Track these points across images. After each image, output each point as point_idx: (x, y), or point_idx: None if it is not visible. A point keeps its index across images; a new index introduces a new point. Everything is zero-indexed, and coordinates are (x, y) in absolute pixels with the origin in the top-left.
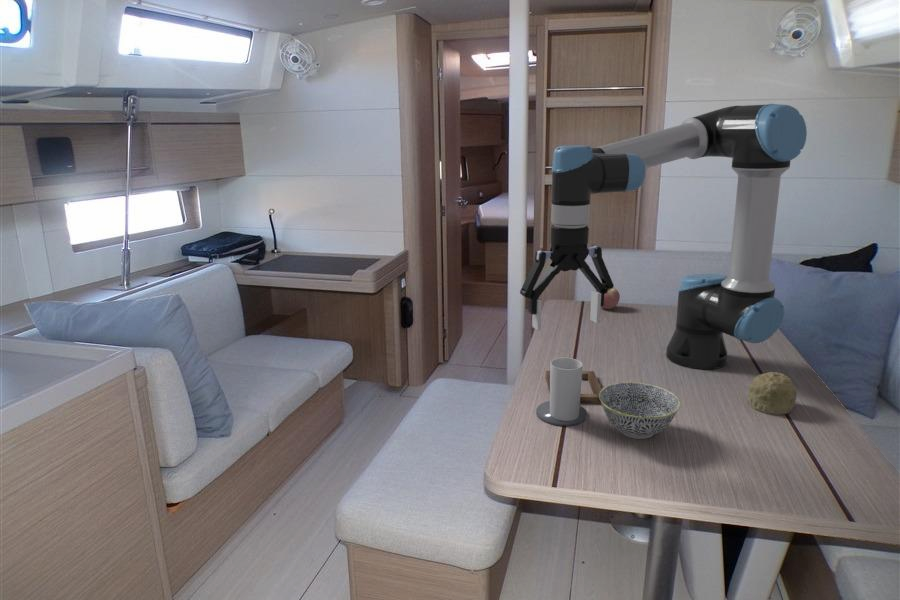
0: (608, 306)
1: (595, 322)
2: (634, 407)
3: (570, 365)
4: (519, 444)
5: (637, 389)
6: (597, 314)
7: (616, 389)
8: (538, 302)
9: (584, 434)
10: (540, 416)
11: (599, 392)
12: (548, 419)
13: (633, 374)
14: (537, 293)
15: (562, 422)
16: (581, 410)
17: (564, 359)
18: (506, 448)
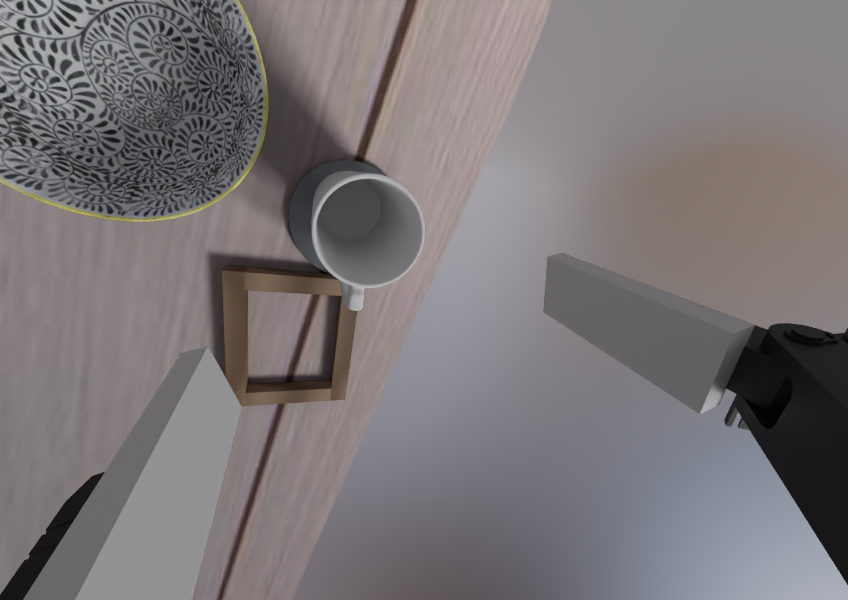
0: None
1: (213, 358)
2: (132, 168)
3: (341, 269)
4: (473, 97)
5: (90, 193)
6: (181, 387)
7: (183, 198)
8: (729, 318)
9: (318, 107)
10: None
11: (233, 297)
12: None
13: (105, 417)
14: (844, 361)
15: (362, 167)
16: (300, 222)
17: (364, 281)
18: (502, 86)
